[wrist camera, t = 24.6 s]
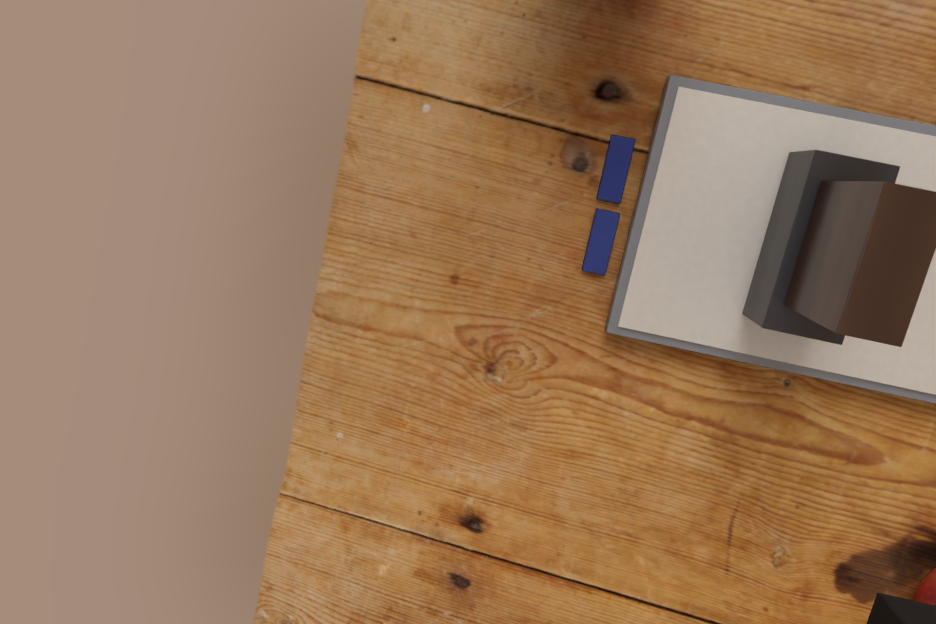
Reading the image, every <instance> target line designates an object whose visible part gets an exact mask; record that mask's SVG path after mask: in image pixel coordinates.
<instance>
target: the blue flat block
mask: <svg viewBox="0 0 936 624" xmlns="http://www.w3.org/2000/svg"><path fill="white" fill-rule="evenodd" d="M634 144H635V139H632V138H627V137H622V136H617V135H611V138H610V142H609V147H608V151H607V155H606V160H605V164H604V168H603V173H602V177H601V181H600V186H599V190H598V194H597V199H599V200H604V201H609V202H614V203H619V204H620V203H621V199H622V195H623V190H624V186H625V182H626V178H627V174H628V170H629V165H630V161H631V157H632V153H633V149H634Z"/></svg>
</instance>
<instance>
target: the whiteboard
mask: <svg viewBox="0 0 936 624" xmlns="http://www.w3.org/2000/svg"><path fill="white" fill-rule="evenodd" d="M807 150H821V151H826V152H831V153H836V154H841V155H846V156H851V157H856V158H861V159H866V160H871V161H876V162H881V163H886V164H891V165H896V166H900V170H899V173H898V176H897V179H896V182H895V184H900V185H905V186H910V187H915V188H920V189H925V190H930V191H935V192H936V126H934V125H928V124H923V123H918V122H913V121H908V120H902V119H897V118H892V117H887V116H882V115H877V114H871V113H866V112H861V111H856V110H851V109H845V108H840V107H835V106H830V105H825V104H820V103H814V102H809V101H804V100H799V99H794V98H788V97H783V96H778V95H773V94H768V93H763V92H757V91H752V90H747V89H742V88H737V87H731V86H726V85H721V84H716V83H711V82H706V81H700V80H695V79H690V78H685V77H680V76H674V75H670V76H669V77H667V81H666V85H665V89H664V93H663V97H662V101H661V105H660V109H659V113H658V117H657V121H656V125H655V129H654V133H653V137H652V141H651V145H650V149H649V153H648V157H647V161H646V165H645V169H644V173H643V177H642V181H641V185H640V190H639V194H638V198H637V202H636V206H635V210H634V214H633V218H632V222H631V226H630V230H629V234H628V238H627V242H626V246H625V250H624V254H623V258H622V262H621V266H620V270H619V274H618V278H617V282H616V286H615V290H614V294H613V298H612V302H611V306H610V310H609V314H608V318H607V322H606V326H605V331H606V333H610V334H615V335H619V336H624V337H629V338H633V339H638V340H642V341H647V342H652V343H656V344H661V345H666V346H670V347H675V348H679V349H684V350H689V351H693V352H698V353H703V354H707V355H712V356H716V357H721V358H726V359H730V360H735V361H740V362H744V363H749V364H754V365H758V366H763V367H767V368H772V369H777V370H781V371H786V372H791V373H795V374H800V375H804V376H809V377H814V378H818V379H823V380H828V381H832V382H837V383H841V384H846V385H851V386H855V387H860V388H865V389H869V390H874V391H878V392H883V393H888V394H892V395H897V396H902V397H906V398H911V399H916V400H920V401H925V402H929V403H934V404H936V249H935V252H934V255H933V258H932V261H931V264H930V267H929V269H928V272H927V275H926V278H925V281H924V284H923V287H922V290H921V293H920V295H919V298H918V301H917V304H916V307H915V310H914V313H913V316H912V318H911V321H910V324H909V327H908V330H907V333H906V336H905V339H904V342H903V344H902V347H897V346H893V345H888V344H883V343H879V342H874V341H869V340H865V339H860V338H855V337H851V336H846V335H845V338H844V341H843V344H842V345H839V344H834V343H830V342H825V341H820V340H816V339H811V338H806V337H802V336H797V335H792V334H788V333H783V332H778V331H774V330H769V329H764V328H762V327H760V326H759V325H757V324H756V323H754V322H753V321H752V320H750V319H749V318H747V317H746V316H744V315H743V314H742V312H743V309H744V306H745V302H746V299H747V295H748V292H749V289H750V285H751V282H752V278H753V275H754V272H755V268H756V265H757V261H758V258H759V254H760V251H761V248H762V244H763V241H764V237H765V234H766V231H767V227H768V224H769V220H770V217H771V213H772V210H773V207H774V203H775V200H776V196H777V193H778V190H779V186H780V183H781V179H782V176H783V172H784V169H785V166H786V162H787V159H788V155H789V153H790V152H796V151H807Z"/></svg>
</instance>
